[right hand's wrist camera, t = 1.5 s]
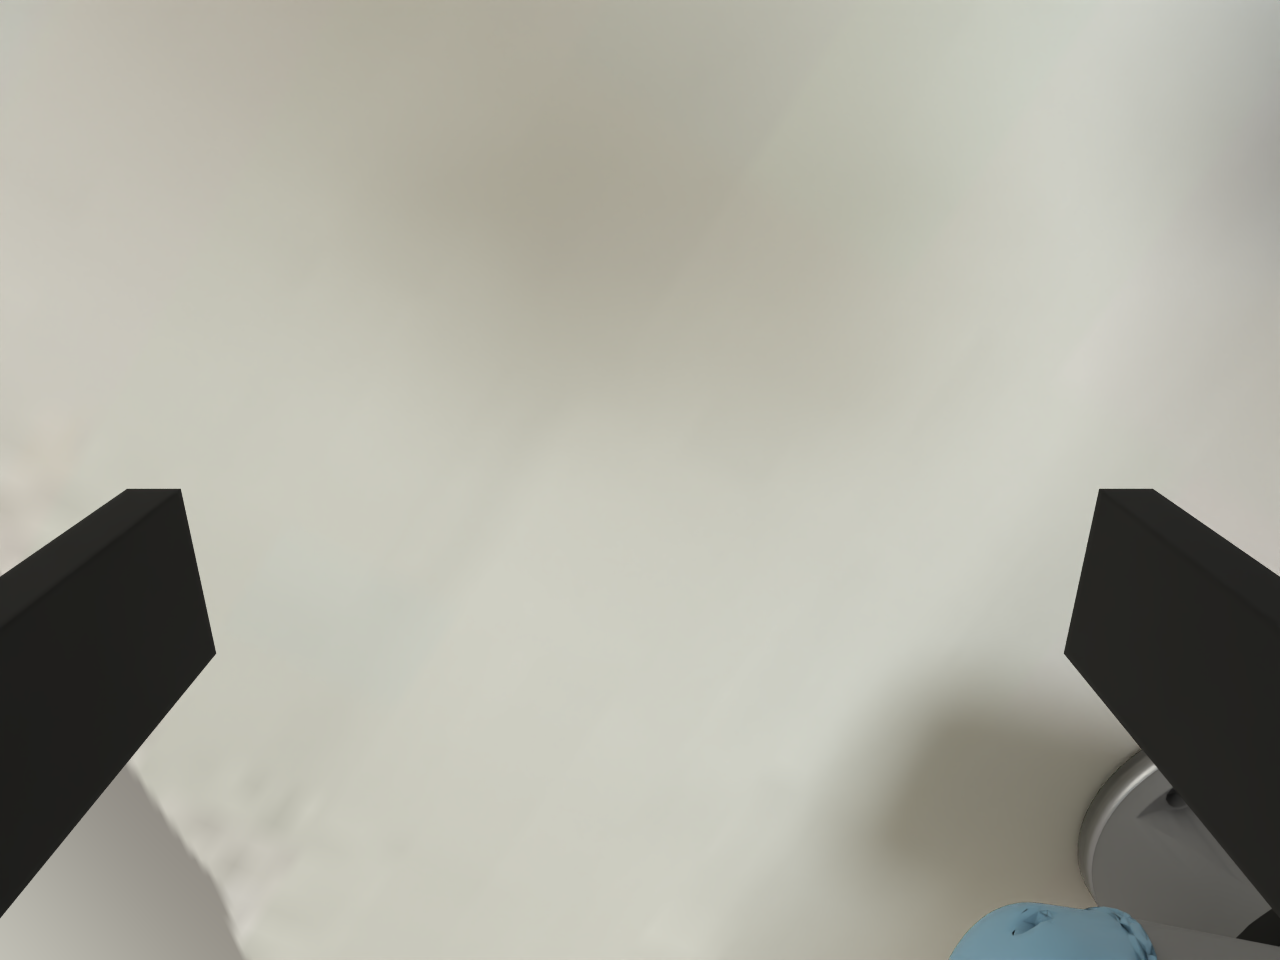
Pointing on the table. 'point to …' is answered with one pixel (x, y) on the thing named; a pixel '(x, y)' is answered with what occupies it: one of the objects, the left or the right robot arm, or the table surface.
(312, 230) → the table surface
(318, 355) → the table surface
